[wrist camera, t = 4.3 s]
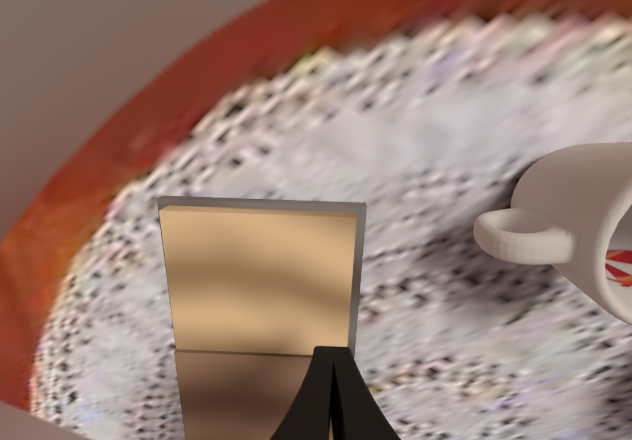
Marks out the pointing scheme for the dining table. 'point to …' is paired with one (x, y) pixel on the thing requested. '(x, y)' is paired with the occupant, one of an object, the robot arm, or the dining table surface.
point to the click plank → (258, 278)
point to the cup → (572, 222)
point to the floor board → (251, 353)
